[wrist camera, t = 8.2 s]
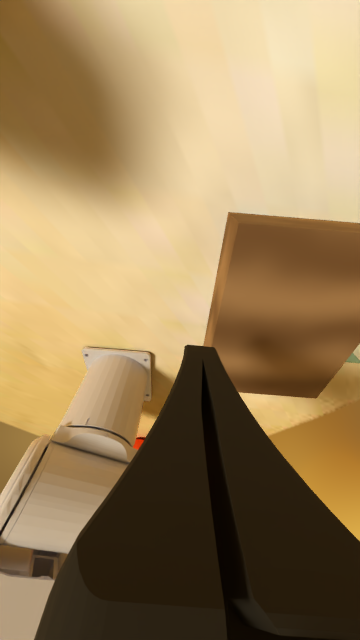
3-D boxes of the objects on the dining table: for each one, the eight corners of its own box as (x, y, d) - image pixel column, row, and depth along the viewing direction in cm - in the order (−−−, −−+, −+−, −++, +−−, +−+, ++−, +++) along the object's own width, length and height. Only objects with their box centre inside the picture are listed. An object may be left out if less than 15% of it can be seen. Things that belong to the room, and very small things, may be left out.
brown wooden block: (299, 368, 25) (316, 398, 21) (200, 360, 24) (202, 389, 21) (388, 225, 15) (442, 239, 12) (228, 212, 15) (238, 222, 12)
